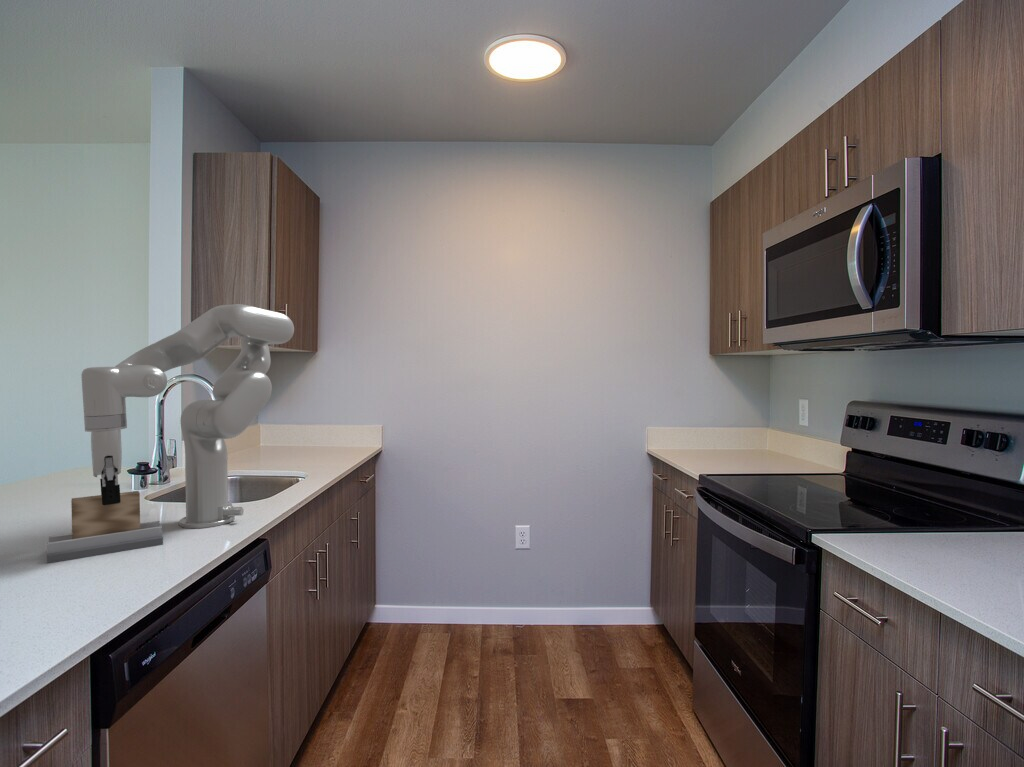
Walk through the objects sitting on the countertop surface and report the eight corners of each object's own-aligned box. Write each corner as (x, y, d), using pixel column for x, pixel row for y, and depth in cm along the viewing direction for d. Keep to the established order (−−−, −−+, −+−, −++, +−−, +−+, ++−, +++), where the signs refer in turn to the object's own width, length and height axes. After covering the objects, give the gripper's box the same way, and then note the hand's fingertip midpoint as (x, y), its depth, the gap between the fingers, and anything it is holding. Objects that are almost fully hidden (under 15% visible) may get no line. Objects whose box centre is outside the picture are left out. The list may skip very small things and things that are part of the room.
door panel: (139, 534, 127) (138, 490, 127) (140, 537, 125) (139, 493, 124) (72, 544, 120) (71, 498, 119) (72, 547, 117) (71, 501, 117)
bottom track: (158, 533, 132) (158, 519, 132) (163, 544, 124) (162, 528, 124) (49, 550, 120) (49, 534, 120) (47, 563, 112) (46, 546, 112)
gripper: (84, 420, 126) (89, 494, 127) (84, 428, 112) (89, 511, 113) (124, 417, 131) (128, 489, 132) (129, 425, 117) (133, 504, 118)
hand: (110, 499), depth 123 cm, fingers open, 9 cm apart
